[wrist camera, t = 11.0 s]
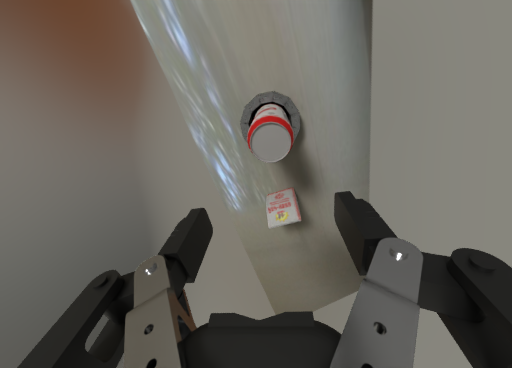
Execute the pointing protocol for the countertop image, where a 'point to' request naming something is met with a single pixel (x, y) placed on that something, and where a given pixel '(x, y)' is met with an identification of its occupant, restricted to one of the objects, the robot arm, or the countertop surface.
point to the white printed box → (282, 208)
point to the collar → (267, 99)
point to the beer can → (270, 134)
